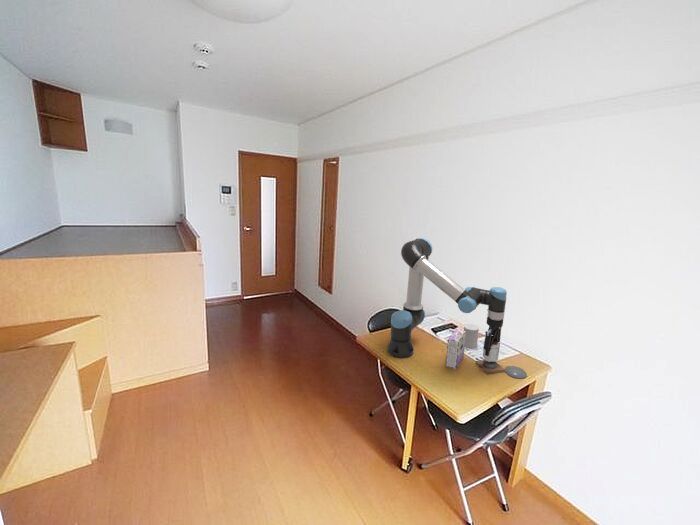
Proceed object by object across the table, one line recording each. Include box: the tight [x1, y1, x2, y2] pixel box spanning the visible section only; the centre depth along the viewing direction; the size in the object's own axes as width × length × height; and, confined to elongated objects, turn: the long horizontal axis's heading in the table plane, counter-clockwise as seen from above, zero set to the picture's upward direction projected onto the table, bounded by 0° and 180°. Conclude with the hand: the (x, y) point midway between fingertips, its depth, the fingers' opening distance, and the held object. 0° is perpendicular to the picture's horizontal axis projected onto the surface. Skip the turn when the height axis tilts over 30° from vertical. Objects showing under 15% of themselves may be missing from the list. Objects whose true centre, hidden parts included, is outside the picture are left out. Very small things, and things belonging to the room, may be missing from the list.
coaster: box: [504, 365, 528, 380], centre depth 157 cm, size 10×10×1 cm
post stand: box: [475, 359, 505, 375], centre depth 161 cm, size 10×10×10 cm
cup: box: [463, 323, 480, 350], centre depth 183 cm, size 8×8×12 cm
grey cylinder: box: [482, 340, 501, 362], centre depth 160 cm, size 7×7×9 cm
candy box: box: [445, 328, 466, 370], centre depth 166 cm, size 14×6×16 cm, turn 145°
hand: (490, 357), depth 161 cm, fingers closed on grey cylinder, 7 cm apart
